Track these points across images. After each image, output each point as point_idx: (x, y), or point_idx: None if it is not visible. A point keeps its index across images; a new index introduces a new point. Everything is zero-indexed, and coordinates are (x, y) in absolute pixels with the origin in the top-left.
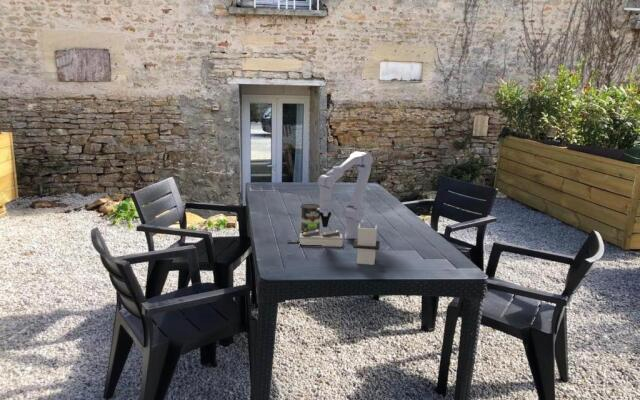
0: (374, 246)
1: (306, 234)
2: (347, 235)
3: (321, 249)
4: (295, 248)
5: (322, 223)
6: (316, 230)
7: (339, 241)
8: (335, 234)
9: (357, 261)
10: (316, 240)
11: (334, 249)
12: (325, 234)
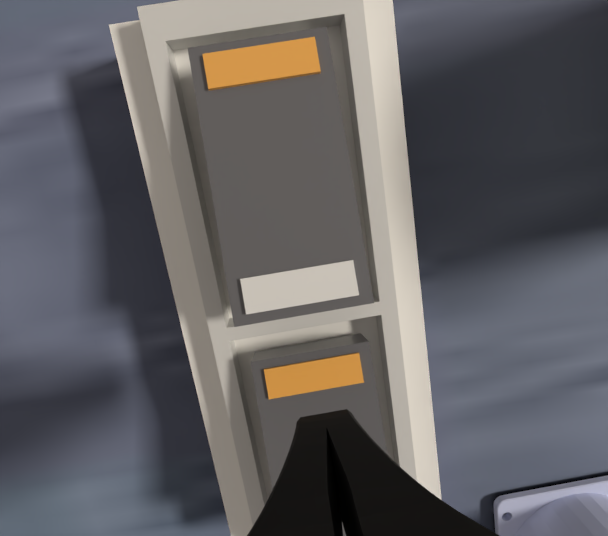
0: None
1: (200, 112)
2: (539, 527)
3: (87, 331)
4: (17, 18)
5: (286, 461)
6: (304, 273)
7: (230, 521)
8: None
9: None
10: (169, 274)
11: (131, 451)
12: (261, 401)
